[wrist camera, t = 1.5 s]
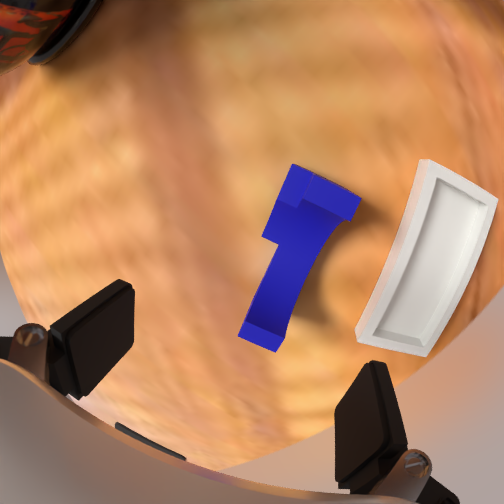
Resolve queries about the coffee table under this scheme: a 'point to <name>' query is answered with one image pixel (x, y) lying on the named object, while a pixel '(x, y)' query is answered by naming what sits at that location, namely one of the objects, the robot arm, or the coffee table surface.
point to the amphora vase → (39, 29)
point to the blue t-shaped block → (294, 249)
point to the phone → (146, 440)
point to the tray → (427, 261)
